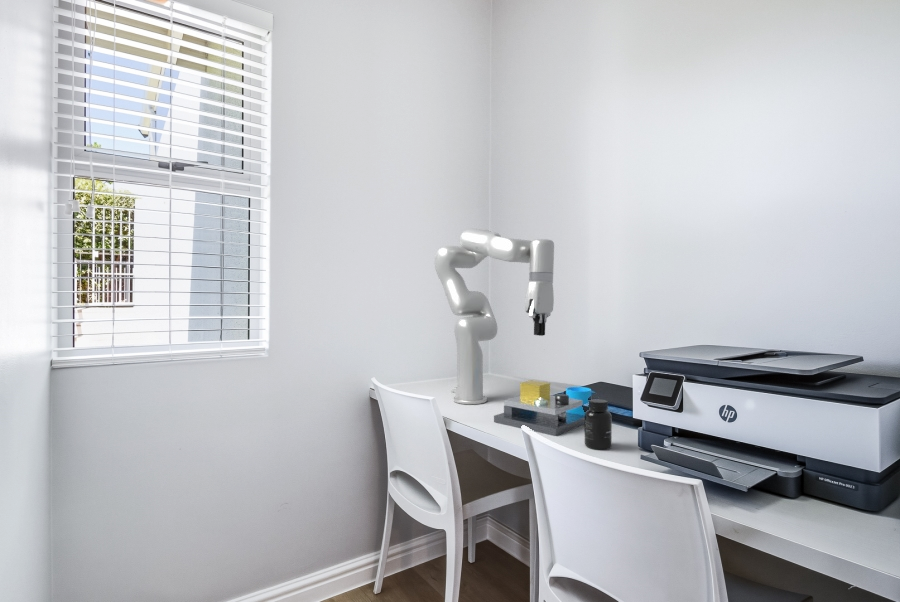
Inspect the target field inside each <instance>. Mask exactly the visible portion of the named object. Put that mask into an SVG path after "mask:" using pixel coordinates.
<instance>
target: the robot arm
mask: <svg viewBox="0 0 900 602" xmlns="http://www.w3.org/2000/svg"><path fill="white" fill-rule="evenodd" d="M459 244H460V245H461V246H460V245H445V246H442V247H440V248H438V250H437V251H436V253H435V257H434V269H435V272H436V274H437V277H438V279H439V281H440V283H441V285H442V288H443V290H444V293H445V296H446V299H447V302H448V305H449V308H450V310H451V312H452V314H453V315H455V316H458V317H459V316H460V317H461V316H462V317H461V318H460V319H458V320H457V321H456V322H455V324H454V328H453V329H454V331H453V332H454V337H455V343H456V353H457V355H456V357H457V358H456V359H457V361H456V362H457V364H456V365H457V367H456V369H457V387H456V386H453V388H452V389H451V390H450V392H451V393H452V394H455V396H454V397H453V402H454V403H456V404H461V405H462V404H463V405H479V404H484V403H486V402H488V397H487V396H485V395H484V367H483V366H484V357H483V356H484V355H483V351H482V350H483V349H482V348H481V346H480V344H479V342H486V341H490V340H493V339H494V338H495V337H496V336H497V334H498V323H497V321H496V318H495V314H494V312H493V310H492V306H491V304H490V302H489V299H488V298H487V296H486V295H485V294H484V293H483V292H481V291H478V290H477V291H476V290H469V289H468V287H467V285H466V281H465V279H464V278H463V276H462V275H461V274H460V273H459V271H457V269H472V268H475V267H477V266H478V265H479V264H480V263H481V262H482V261H484V260H485V258H488V257H489V258H492V259H494V260H499V261H504V262H508V263H521V264H522V263H524V264H529V274H528V275H529V277H528V282H527V286H526V293H525V302H524V312H526V313H527V314H528V317H529V318H531V319H532V322H533V335H534V336H541V337H543V336H545V335H546V323H547V319H548V318H549V317H551V313H552V312H553V311H554V304H555V303H554V297H555V296H554V285H553V284H554V265H555V264H554V262H555V261H554V259H555V243H554V241H553V240H552V239H547V238H546V239H544V238H542V239H539V238H537V239H533V240H528V239H520V238H509V237H504V236H501V235H500V234H499V233H498V232H493V231H490V230H488V229H487V230H486V229H478V228H467V229H465V230H464V231H463V232H461V234H460V235H459Z"/></svg>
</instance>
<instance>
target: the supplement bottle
mask: <svg viewBox="0 0 900 602" xmlns="http://www.w3.org/2000/svg"><path fill="white" fill-rule="evenodd" d="M608 402H609V401H608V400H606V399H600V398H599V399H595V398H593V399H592V398H591V400H589V405H588V407H589V410H587V411H586V412H585V424H584V445H585V447H587V448H589V449H592V450H598V451H599V450H600V451H603V450H605V451H606V450H609V449H610V448H612V442H613V441H612V438H613V437H612V434H613V431H612V429H613V428H612V427H613V425H612V421H613V418H612V414H611V412H610V411H609V410H608V408H609V406H608V405H609V403H608Z"/></svg>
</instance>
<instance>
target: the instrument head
mask: <svg viewBox="0 0 900 602" xmlns="http://www.w3.org/2000/svg"><path fill="white" fill-rule="evenodd" d="M519 385H520V386H519V387H520V393H519V394H520V395H518V396H514V397H510V398H507V399H504V406H505V405H506V406H511V407H516V408H521V409H526V410H531V411H537V412H542V413H547V414H552V415H557V414H560V413H563V412H566V411H568V410H571V409H574V408H577V407H580V406H582V405H583V400H578V399H571V398H569V395H566V393H562V394H561V393H557V394H555V395H553V394H552V395H551V383H550V382H545V381H538V380H528V381H523V382H520V384H519Z"/></svg>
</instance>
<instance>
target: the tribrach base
mask: <svg viewBox="0 0 900 602" xmlns="http://www.w3.org/2000/svg"><path fill="white" fill-rule="evenodd" d="M493 422H494V423H497V424H501V425H505V426H509V427H514V428H519V429H521V428H520V427H521V426H522V425H525V426H527V427H529V428H530V429H532V430H534V431H533V432H537V433H540V434H545V435H550V436H554V437H556V436H559V435H561V434H564V433H567V432H569V431H570V430H571V431H572V430H573V429H576V428H578V427H581V426H583V425H585V416H584V415H579V414H573V413H568V412H563V413H560V414H557V415H552V414H547V413H542V412H537V411H531V410H526V409H521V408H516V407H511V406H506V405H505V404H504V405H503V412H500V413H498V414H495V415H493Z"/></svg>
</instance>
